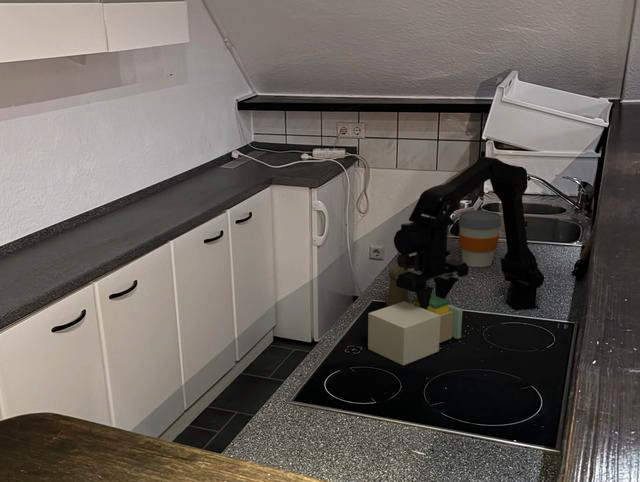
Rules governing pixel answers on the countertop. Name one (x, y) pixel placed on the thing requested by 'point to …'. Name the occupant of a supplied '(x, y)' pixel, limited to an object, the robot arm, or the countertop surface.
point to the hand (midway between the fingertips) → (431, 309)
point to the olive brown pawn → (395, 292)
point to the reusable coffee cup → (478, 236)
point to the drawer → (451, 324)
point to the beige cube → (403, 332)
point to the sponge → (435, 305)
